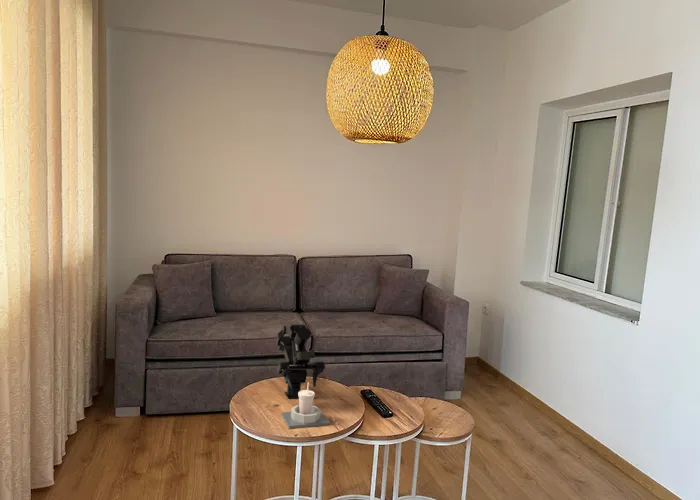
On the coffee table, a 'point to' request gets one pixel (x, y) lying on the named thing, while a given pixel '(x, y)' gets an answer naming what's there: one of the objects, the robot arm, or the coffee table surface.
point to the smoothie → (306, 400)
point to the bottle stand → (304, 418)
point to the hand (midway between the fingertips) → (303, 387)
